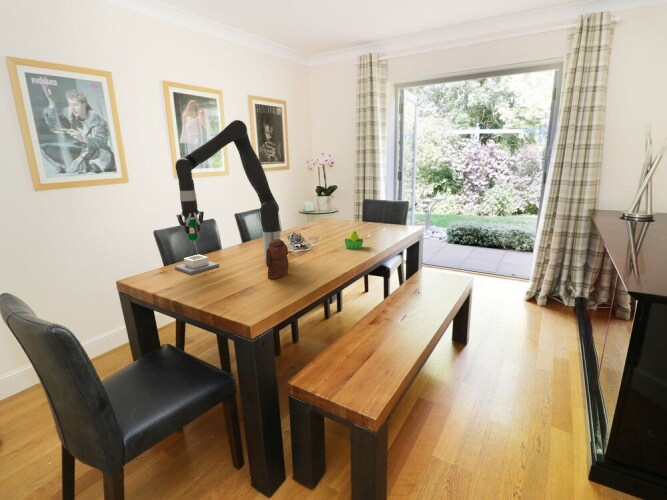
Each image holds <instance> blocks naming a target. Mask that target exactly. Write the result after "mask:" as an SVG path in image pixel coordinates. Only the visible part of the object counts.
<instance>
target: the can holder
mask: <svg viewBox="0 0 667 500" xmlns="http://www.w3.org/2000/svg"><path fill="white" fill-rule="evenodd" d="M183 261H184V263H181V264H178V265H174V269H175V270H177V271H180V272H183V273H186V274H189V275H193V274H194V275H195V274H198V273H201V272H205V271H209V270H212V269H215V268H218V267H220V263H218V262H215V261H210V260H209V256H205V255H204V254H203V255H202V254H195V255H192V256H188V257H184V258H183Z"/></svg>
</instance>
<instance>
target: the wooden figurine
mask: <svg viewBox="0 0 667 500" xmlns="http://www.w3.org/2000/svg"><path fill="white" fill-rule="evenodd" d="M288 250H289V249H288V246H287V245H286V244H285V242H284V241H283V240H282V239H281V238H280V239H274V240H272V241H271V242H270V243H269V246H268V249H267V251H266V262H265V264H266V267H267V278H268V279H270V280H276V279H279V278H281V277H283V276H285V275H287V274H288V272H289V259H288V254H289V251H288Z"/></svg>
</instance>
